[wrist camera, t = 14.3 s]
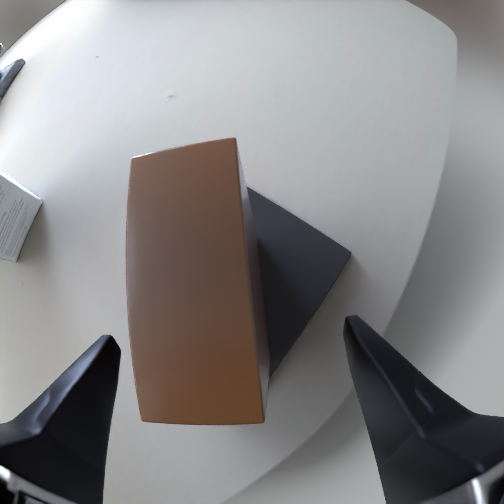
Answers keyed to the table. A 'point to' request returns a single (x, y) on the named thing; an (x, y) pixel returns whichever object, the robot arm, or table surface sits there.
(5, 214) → the cosmetic box
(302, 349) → the table surface
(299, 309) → the mat
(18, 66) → the faucet
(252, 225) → the block
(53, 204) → the table surface
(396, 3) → the table surface
